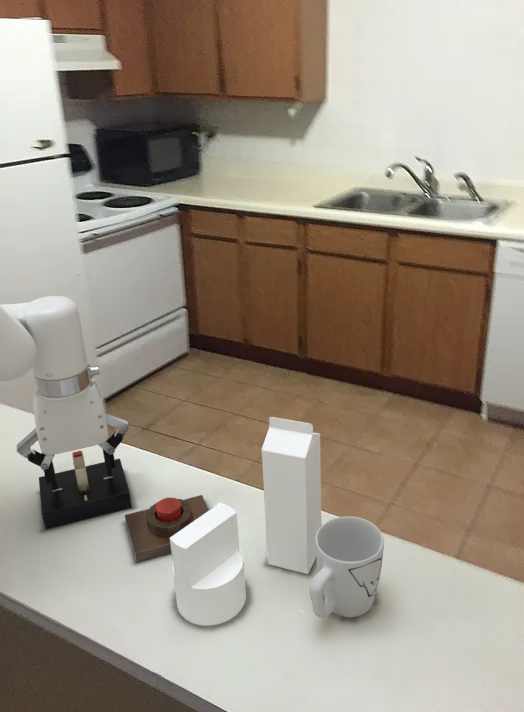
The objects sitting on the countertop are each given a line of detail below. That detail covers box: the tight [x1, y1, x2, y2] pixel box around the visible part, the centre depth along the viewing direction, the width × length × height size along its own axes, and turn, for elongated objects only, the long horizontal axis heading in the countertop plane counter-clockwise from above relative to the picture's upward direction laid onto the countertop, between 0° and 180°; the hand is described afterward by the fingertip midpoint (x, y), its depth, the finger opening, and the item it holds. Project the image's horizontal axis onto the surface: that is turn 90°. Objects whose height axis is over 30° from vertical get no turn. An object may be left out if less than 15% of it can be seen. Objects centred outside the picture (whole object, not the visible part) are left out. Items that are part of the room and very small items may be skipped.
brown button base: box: [124, 494, 210, 563], centre depth 99 cm, size 12×9×4 cm
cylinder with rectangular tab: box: [170, 502, 247, 627], centre depth 85 cm, size 9×9×12 cm
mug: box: [309, 515, 385, 620], centre depth 83 cm, size 11×8×10 cm
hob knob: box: [71, 450, 90, 494], centre depth 105 cm, size 5×2×5 cm, turn 21°
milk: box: [261, 416, 322, 575], centre depth 89 cm, size 6×6×22 cm
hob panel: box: [38, 458, 133, 531], centre depth 106 cm, size 13×10×3 cm
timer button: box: [155, 497, 182, 522], centre depth 98 cm, size 4×4×2 cm
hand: (82, 478), depth 105 cm, fingers open, 7 cm apart
